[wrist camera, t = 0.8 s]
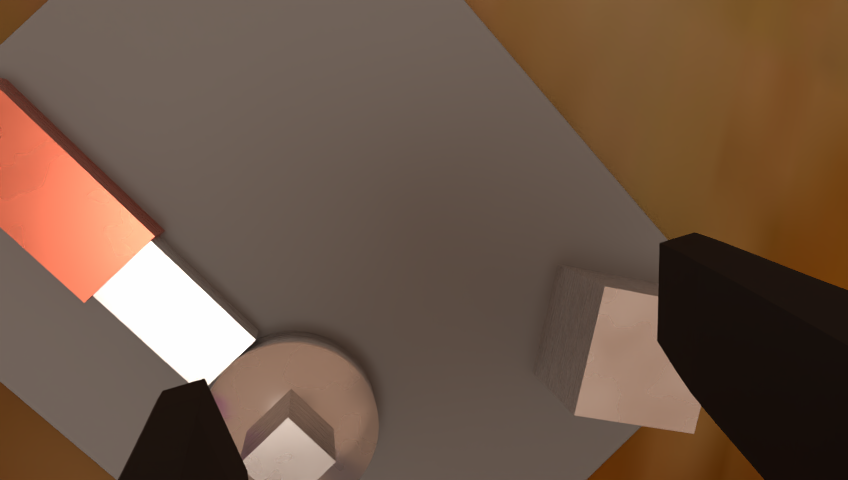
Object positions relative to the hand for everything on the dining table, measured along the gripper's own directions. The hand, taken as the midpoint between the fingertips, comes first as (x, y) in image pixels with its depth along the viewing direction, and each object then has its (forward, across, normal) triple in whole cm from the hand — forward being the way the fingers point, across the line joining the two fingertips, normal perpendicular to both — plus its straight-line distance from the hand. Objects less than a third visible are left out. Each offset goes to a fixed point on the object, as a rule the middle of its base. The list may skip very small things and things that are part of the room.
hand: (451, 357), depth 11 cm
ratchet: (+17, +8, +8) cm, 20 cm away
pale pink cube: (+14, -9, +14) cm, 22 cm away
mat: (+17, +2, +9) cm, 19 cm away
